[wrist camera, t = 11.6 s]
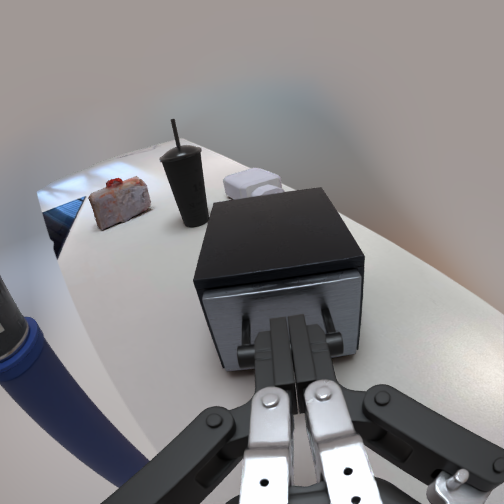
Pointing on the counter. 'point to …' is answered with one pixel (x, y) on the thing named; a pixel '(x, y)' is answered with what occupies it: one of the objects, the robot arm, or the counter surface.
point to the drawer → (284, 312)
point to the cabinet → (274, 242)
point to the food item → (119, 201)
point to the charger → (252, 183)
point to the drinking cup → (186, 181)
